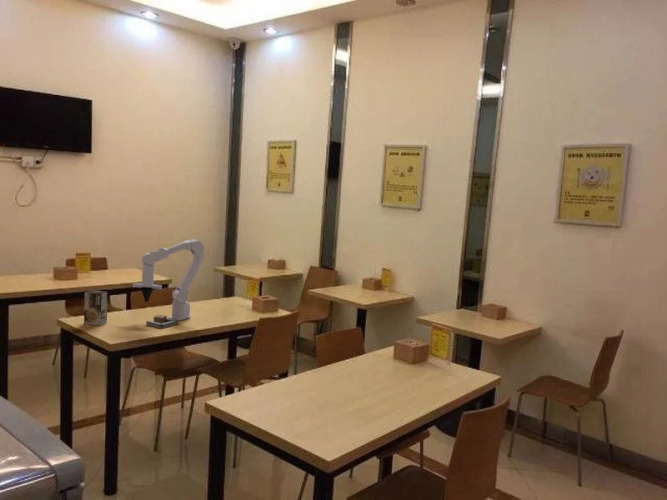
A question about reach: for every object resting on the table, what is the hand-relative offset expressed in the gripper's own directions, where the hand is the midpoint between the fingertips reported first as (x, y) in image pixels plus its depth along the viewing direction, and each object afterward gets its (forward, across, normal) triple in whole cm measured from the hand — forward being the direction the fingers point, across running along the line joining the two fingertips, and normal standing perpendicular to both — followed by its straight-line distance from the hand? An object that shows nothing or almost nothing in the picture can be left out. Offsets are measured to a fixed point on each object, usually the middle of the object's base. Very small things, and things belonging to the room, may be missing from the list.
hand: (146, 301), depth 287 cm
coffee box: (+10, +20, +15) cm, 27 cm away
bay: (+10, -11, +7) cm, 16 cm away
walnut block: (+10, -9, +5) cm, 14 cm away
